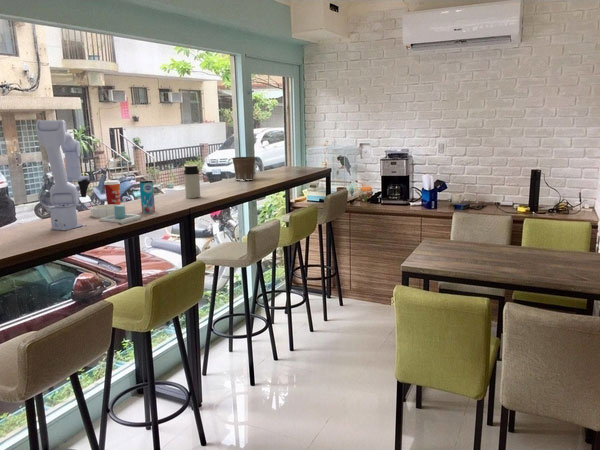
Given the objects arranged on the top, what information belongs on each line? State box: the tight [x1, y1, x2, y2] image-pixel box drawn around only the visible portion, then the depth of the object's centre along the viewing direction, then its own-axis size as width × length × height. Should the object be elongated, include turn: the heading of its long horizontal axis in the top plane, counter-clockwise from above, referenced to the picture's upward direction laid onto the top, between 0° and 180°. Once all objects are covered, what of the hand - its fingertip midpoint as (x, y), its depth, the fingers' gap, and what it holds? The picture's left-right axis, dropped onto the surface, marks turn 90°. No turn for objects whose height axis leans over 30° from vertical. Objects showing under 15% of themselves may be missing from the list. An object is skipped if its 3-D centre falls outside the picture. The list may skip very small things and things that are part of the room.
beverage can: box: [139, 180, 156, 214], centre depth 235 cm, size 6×6×15 cm
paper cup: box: [103, 179, 121, 205], centre depth 247 cm, size 8×8×14 cm
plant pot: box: [231, 156, 256, 180], centre depth 351 cm, size 16×16×16 cm
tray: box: [99, 213, 142, 225], centre depth 219 cm, size 12×12×2 cm
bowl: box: [90, 204, 116, 219], centre depth 230 cm, size 13×13×4 cm
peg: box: [114, 204, 127, 220], centre depth 218 cm, size 4×4×6 cm
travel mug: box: [183, 164, 201, 199], centre depth 280 cm, size 8×8×18 cm
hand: (76, 198), depth 222 cm, fingers open, 7 cm apart
